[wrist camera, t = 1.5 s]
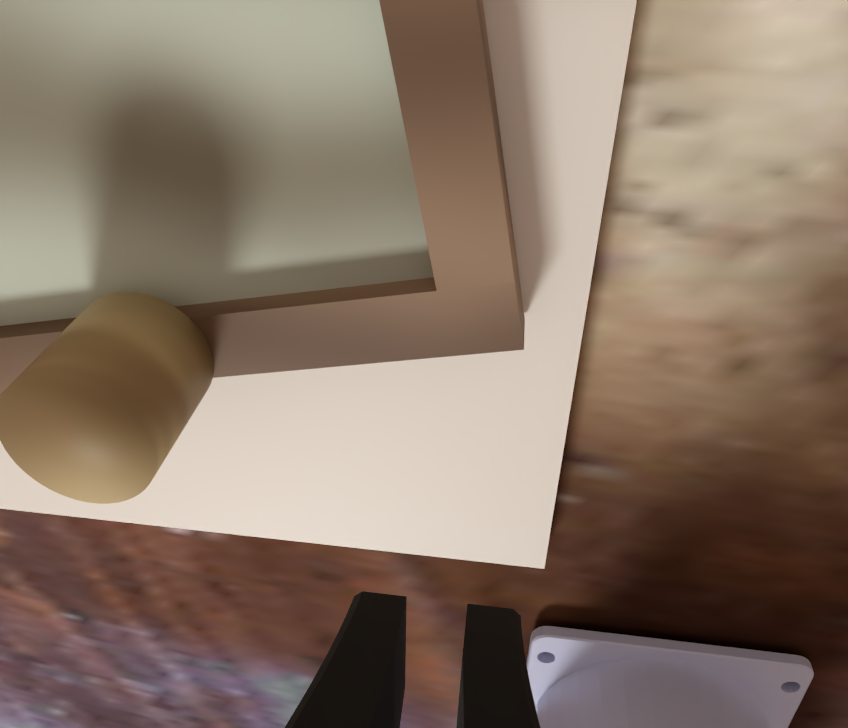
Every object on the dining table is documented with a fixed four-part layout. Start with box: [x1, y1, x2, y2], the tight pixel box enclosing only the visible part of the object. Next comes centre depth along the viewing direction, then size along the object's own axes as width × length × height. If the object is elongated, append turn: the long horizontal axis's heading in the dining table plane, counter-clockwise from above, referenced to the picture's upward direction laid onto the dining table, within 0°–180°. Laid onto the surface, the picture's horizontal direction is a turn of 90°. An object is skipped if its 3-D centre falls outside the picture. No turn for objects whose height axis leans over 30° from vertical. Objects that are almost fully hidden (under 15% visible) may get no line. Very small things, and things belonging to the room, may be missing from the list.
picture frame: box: [0, 0, 525, 504], centre depth 14 cm, size 11×16×4 cm
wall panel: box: [0, 0, 637, 569], centre depth 16 cm, size 20×21×1 cm
